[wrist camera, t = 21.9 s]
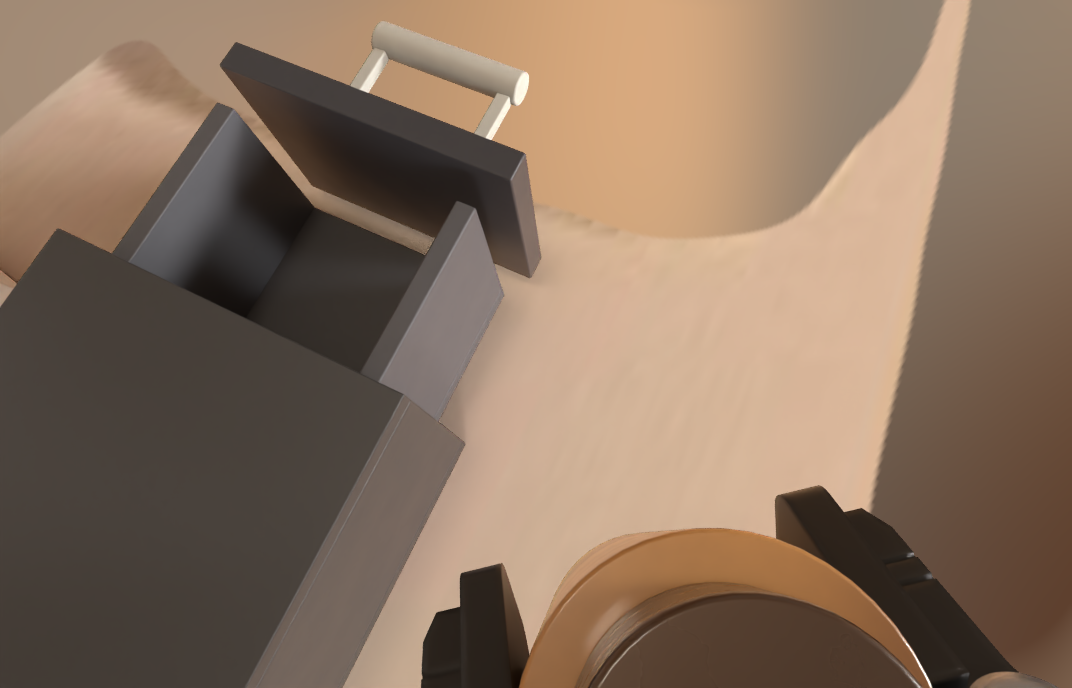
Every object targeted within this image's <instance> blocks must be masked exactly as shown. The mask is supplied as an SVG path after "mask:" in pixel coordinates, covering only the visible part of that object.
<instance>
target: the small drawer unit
mask: <svg viewBox="0 0 1072 688" xmlns="http://www.w3.org/2000/svg"><path fill="white" fill-rule="evenodd" d="M464 446H465V442H463V441H462V440H461V439H460V438H458V437H457V436H456V435H455V434H453V433H452V432H451V431H449V430H448V429H447V428H446V427H444V426H443V425H442V424H441V423H439V422H438V421H437V420H436V419H434V418H433V417H432V416H430V415H429V414H428V413H427V412H425V411H424V410H423V409H422V408H420V407H419V406H418V405H417V404H415V403H414V402H413V401H411V400H410V399H409V398H408V397H407V396H405V395H404V394H402V393H400V392H398V391H396V390H394V389H392V388H390V387H388V386H386V385H384V384H382V383H380V382H377V381H375V380H373V379H371V378H369V377H367V376H365V375H363V374H361V373H359V372H357V371H355V370H352V369H350V368H348V367H346V366H344V365H342V364H340V363H338V362H336V361H334V360H332V359H330V358H328V357H325V356H323V355H321V354H319V353H317V352H315V351H313V350H311V349H309V348H307V347H305V346H303V345H300V344H298V343H296V342H294V341H292V340H290V339H288V338H286V337H284V336H282V335H280V334H278V333H276V332H273V331H271V330H269V329H267V328H265V327H263V326H261V325H259V324H257V323H255V322H253V321H251V320H248V319H246V318H244V317H242V316H240V315H238V314H236V313H234V312H232V311H230V310H228V309H226V308H223V307H221V306H219V305H217V304H215V303H213V302H211V301H209V300H207V299H205V298H203V297H201V296H199V295H196V294H194V293H192V292H190V291H188V290H186V289H184V288H182V287H180V286H178V285H176V284H174V283H171V282H169V281H167V280H165V279H163V278H161V277H159V276H157V275H155V274H153V273H151V272H149V271H147V270H144V269H142V268H140V267H138V266H136V265H134V264H132V263H130V262H128V261H126V260H124V259H122V258H119V257H117V256H115V255H113V254H111V253H109V252H107V251H105V250H103V249H101V248H99V247H97V246H94V245H92V244H90V243H88V242H86V241H84V240H82V239H80V238H78V237H76V236H74V235H72V234H70V233H67V232H65V231H63V230H61V229H56V231H55V232H54V234H53V235H52V236H51V238H50V239H49V240H48V242H47V243H46V245H45V246H44V247H43V249H42V250H41V251H40V253H39V254H38V256H37V257H36V258H35V260H34V261H33V262H32V264H31V265H30V267H29V268H28V269H27V271H26V272H25V273H24V275H23V276H22V278H21V279H20V280H19V282H18V283H17V284H16V286H15V287H14V289H13V290H12V291H11V293H10V294H9V295H8V297H7V298H6V300H5V301H4V302H3V304H2V305H1V306H0V688H342V687H343V685H344V683H345V681H346V679H347V677H348V675H349V673H350V671H351V669H352V667H353V665H354V663H355V662H356V660H357V658H358V656H359V654H360V652H361V650H362V648H363V646H364V644H365V642H366V640H367V638H368V636H369V634H370V632H371V630H372V628H373V626H374V624H375V622H376V620H377V618H378V616H379V614H380V612H381V610H382V608H383V606H384V604H385V602H386V600H387V598H388V596H389V594H390V592H391V590H392V588H393V586H394V584H395V582H396V581H397V579H398V577H399V575H400V573H401V571H402V569H403V567H404V565H405V563H406V561H407V559H408V557H409V555H410V553H411V551H412V549H413V547H414V545H415V543H416V541H417V539H418V537H419V535H420V533H421V531H422V529H423V527H424V525H425V523H426V521H427V519H428V517H429V515H430V513H431V511H432V509H433V507H434V505H435V503H436V501H437V500H438V498H439V496H440V494H441V492H442V490H443V488H444V486H445V484H446V482H447V480H448V478H449V476H450V474H451V472H452V470H453V468H454V466H455V464H456V462H457V460H458V458H459V456H460V454H461V452H462V450H463V448H464Z"/></svg>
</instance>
